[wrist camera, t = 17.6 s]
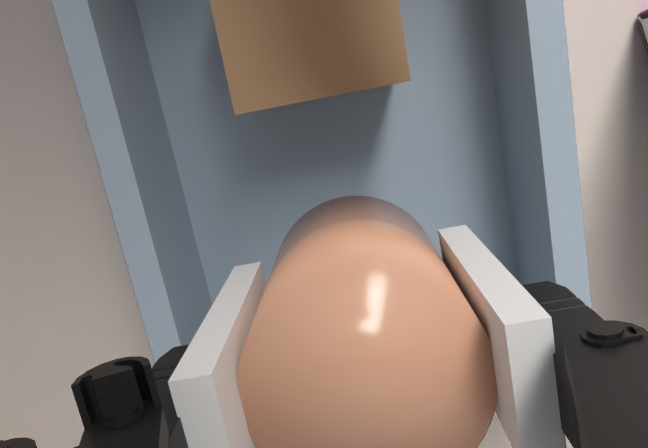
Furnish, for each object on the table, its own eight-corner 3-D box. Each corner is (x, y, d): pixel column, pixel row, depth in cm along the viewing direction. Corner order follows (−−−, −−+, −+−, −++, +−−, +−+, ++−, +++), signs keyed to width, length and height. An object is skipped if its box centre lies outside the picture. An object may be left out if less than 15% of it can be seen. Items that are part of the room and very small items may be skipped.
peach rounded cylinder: (300, 366, 19) (278, 524, 12) (255, 219, 18) (203, 300, 11) (453, 329, 18) (521, 472, 11) (417, 177, 17) (468, 234, 10)
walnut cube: (258, 107, 21) (234, 115, 16) (227, -38, 20) (192, -76, 15) (393, 81, 21) (410, 81, 16) (370, -67, 20) (380, -117, 15)
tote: (87, -93, 20) (8, -149, 15) (487, -184, 19) (537, -273, 15) (208, 369, 24) (176, 440, 20) (543, 312, 24) (597, 372, 19)
